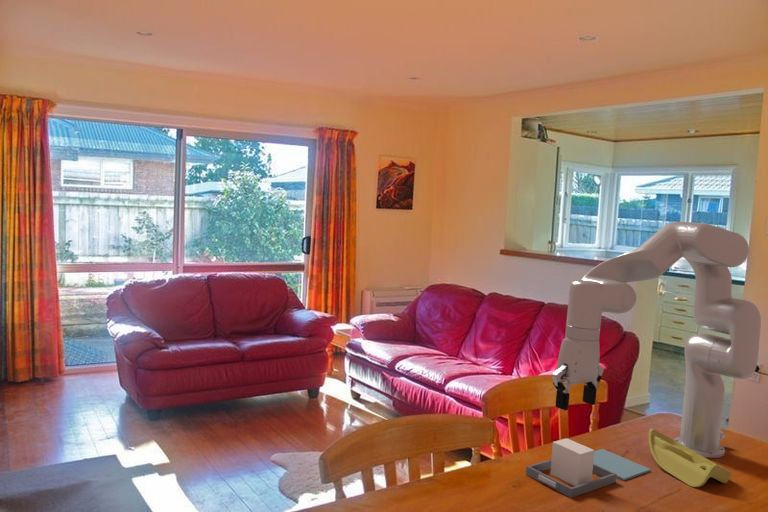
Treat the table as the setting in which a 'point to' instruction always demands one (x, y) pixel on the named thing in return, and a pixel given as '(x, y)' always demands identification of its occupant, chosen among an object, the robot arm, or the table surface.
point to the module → (572, 462)
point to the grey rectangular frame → (535, 473)
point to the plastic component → (684, 461)
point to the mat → (618, 465)
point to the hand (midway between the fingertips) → (575, 405)
